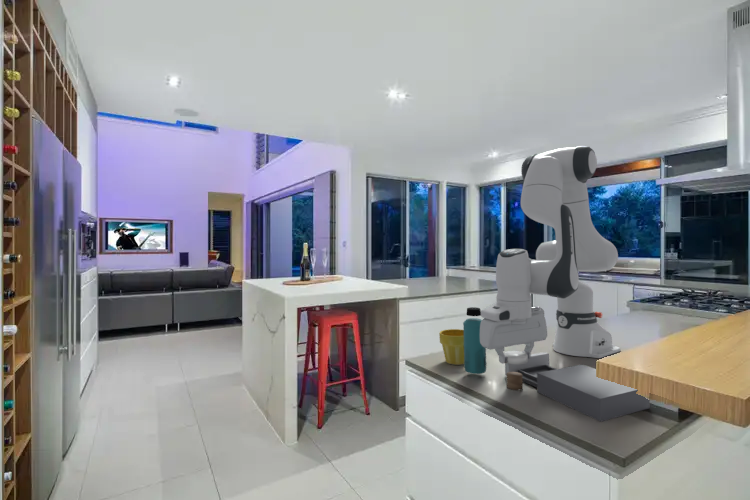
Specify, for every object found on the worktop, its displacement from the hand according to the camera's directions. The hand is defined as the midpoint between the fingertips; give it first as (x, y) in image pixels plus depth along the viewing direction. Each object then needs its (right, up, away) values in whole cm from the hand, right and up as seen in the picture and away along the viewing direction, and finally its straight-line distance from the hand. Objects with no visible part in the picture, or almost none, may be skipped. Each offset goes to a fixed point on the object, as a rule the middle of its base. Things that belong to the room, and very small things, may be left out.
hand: (515, 360), depth 104 cm
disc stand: (0, -7, 0) cm, 7 cm away
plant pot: (-11, -7, +22) cm, 26 cm away
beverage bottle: (-8, -7, +9) cm, 15 cm away
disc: (0, 0, 0) cm, 0 cm away
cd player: (+15, -7, -9) cm, 19 cm away
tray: (+11, -7, +3) cm, 13 cm away
